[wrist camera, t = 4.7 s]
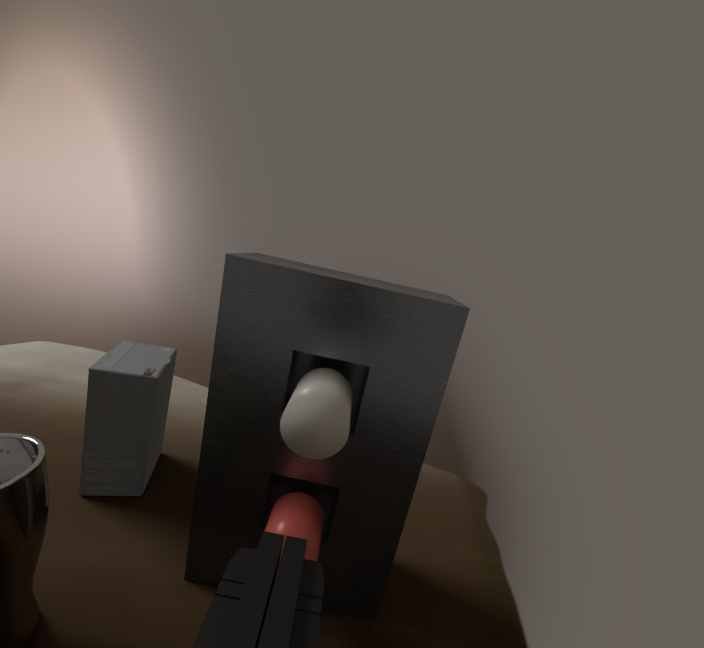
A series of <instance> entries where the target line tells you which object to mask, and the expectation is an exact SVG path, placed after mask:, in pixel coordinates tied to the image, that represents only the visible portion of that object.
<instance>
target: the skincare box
mask: <svg viewBox="0 0 704 648" xmlns="http://www.w3.org/2000/svg"><path fill="white" fill-rule="evenodd" d="M176 353H177V350H176V349H174V348H167V347H161V346H154V345H148V344H142V343H137V342H129V341H121V342H120V343H119V344H118V345H117V346H115V347H114V348H113V349H112V350H110V351H109V352H108V353H107V354H105V355H104V356H103V357H102V358H101V359H99V360H98V361H97V362H96V363H95V364H94V365H92V366H91V367H90V368H89V377H88V391H87V404H86V416H85V428H84V440H83V453H82V464H81V476H80V488H79V494H80V495H89V496H93V495H95V496H141V495H142V494H143V492H144V490H145V488H146V485H147V483H148V481H149V479H150V476H151V474H152V472H153V469H154V467H155V465H156V463H157V460H158V458H159V456H160V453H161V450H162V444H163V437H164V431H165V424H166V418H167V412H168V405H169V399H170V392H171V386H172V380H173V373H174V366H175V360H176Z"/></svg>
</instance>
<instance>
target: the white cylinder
mask: <svg viewBox="0 0 704 648" xmlns="http://www.w3.org/2000/svg"><path fill="white" fill-rule="evenodd" d="M351 406H352V389H351V386H350V383H349V382H348V380H347V379H346V378H345V377H344V376H343V375H342V374H341V373H339V372H338V371H336V370H333V369H330V368H317V369H313V370H311V371H309V372H307V373H306V374H305V375H304V376H303V377H302V378H301V379H300V381H299V382H298V384H297V386H296V388H295V390H294V392H293V394H292V396H291V398H290V400H289V402H288V404H287V406H286V408H285V410H284V412H283V414H282V417H281V421H280V432H281V436H282V438H283V440H284V442H285V444H286V445H287V446H288V447H289V448H290V449H291V450H292V451H293V452H294V453H296V454H298V455H300V456H302V457H305V458H308V459H324V458H328V457H330V456H333V455H334V454H336V453H337V452H339V451H340V450H341V449H342V448H343V446H344V445H345V444H346V442H347V439H348V436H349V429H350V417H351Z"/></svg>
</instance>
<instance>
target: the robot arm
mask: <svg viewBox="0 0 704 648" xmlns="http://www.w3.org/2000/svg"><path fill="white" fill-rule="evenodd" d="M284 537H285V535H282V534H276V533H271V532H266V531H263V533H262V535H261V538H260V541H259V544H258V547H257V550H255V549H250V548H245V547H241V548H240V550H239V551H238V552H237V553H236V554H235V555H234V556H233V557H232V558H231V559H230V560H229V562H228V565H227V567H226V569H225V572H224V574H223V576H222V579H221V582H220V583H219V586H218V588H217V591H216V593H215V596H214V598H213V600H212V602H211V605H210V607H209V610H208V612H207V614H206V617H205V619H204V621H203V624H202V626H201V628H200V631H199V633H198V636H197V638H196V640H195V643H194V645H193V647H192V648H317V646H318V637H319V628H320V618H321V617H320V616H321V609H322V598H323V590H324V580H325V578H324V575H323V571H322V568H321V564H320V562H318V561H313V560H308V559H304V558H305V552H306V547H307V541H308V539H303V538H298V537H292V536H286V539H285V543H284V547H283V542H284ZM282 547H283V551H282ZM281 552H282V555H281ZM280 557H281V558H280Z"/></svg>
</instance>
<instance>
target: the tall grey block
mask: <svg viewBox="0 0 704 648" xmlns="http://www.w3.org/2000/svg"><path fill="white" fill-rule="evenodd" d="M469 309H470V308H468V307H467V306H465V305H463V304H462V303H460V302H458V301H456V300H454V299H452V298H451V297H449V296H447V295H443V294H439V293H434V292H430V291H425V290H421V289H416V288H412V287H407V286H403V285H398V284H394V283H389V282H385V281H381V280H376V279H372V278H367V277H363V276H358V275H353V274H349V273H344V272H340V271H335V270H331V269H327V268H322V267H317V266H313V265H308V264H304V263H300V262H295V261H291V260H286V259H281V258H277V257H273V256H268V255H264V254H259V253H237V254H226V258H225V266H224V273H223V281H222V290H221V297H220V305H219V313H218V321H217V328H216V336H215V344H214V352H213V359H212V367H211V375H210V383H209V390H208V398H207V406H206V414H205V421H204V429H203V437H202V445H201V453H200V460H199V468H198V476H197V484H196V492H195V499H194V507H193V515H192V523H191V531H190V538H189V546H188V554H187V562H186V570H185V577H184V580H189V581H194V582H198V583H203V584H208V585H213V586H217V587H218V586H219V583H220V582H221V579H222V576H223V574H224V572H225V569H226V567H227V565H228V562H229V560H230V559H231V558H232V557H233V556H234V555H235V554H236V553H237V552H238V551H239V550H240V548H241V547H245V548H250V549H255V550H257V547H258V544H259V541H260V538H261V535H262V533H263V531H265V528H266V525H267V523H268V520H269V517H270V514H271V511H272V509H273V506H274V504H275V502H276V501H277V500H278V499H279V498H280V497H281V496H283V495H285V494H288V493H293V492H300V493H305V494H308V495H310V496H312V497H313V498H315V499H316V500H317V501H318V502H319V503H320V505H321V506H322V508H323V511H324V521H323V528H322V534H321V541H320V548H319V554H318V562H320V564H321V568H322V571H323V575H324V578H325V580H324V590H323V598H322V609H326V610H331V611H335V612H340V613H345V614H350V615H354V616H359V617H364V618H368V619H373V620H375V619H376V615H377V612H378V609H379V605H380V602H381V599H382V596H383V592H384V589H385V586H386V582H387V579H388V576H389V573H390V569H391V566H392V563H393V559H394V556H395V553H396V550H397V546H398V543H399V540H400V536H401V533H402V530H403V527H404V523H405V520H406V517H407V513H408V510H409V507H410V504H411V500H412V497H413V494H414V490H415V487H416V484H417V481H418V477H419V474H420V471H421V467H422V464H423V461H424V457H425V454H426V451H427V448H428V444H429V441H430V438H431V434H432V431H433V428H434V424H435V421H436V418H437V415H438V411H439V408H440V405H441V402H442V398H443V395H444V392H445V389H446V385H447V382H448V379H449V375H450V372H451V369H452V365H453V362H454V359H455V356H456V352H457V349H458V346H459V342H460V339H461V336H462V332H463V329H464V326H465V323H466V319H467V316H468V313H469ZM317 368H330V369H333V370H336V371H338V372H339V373H341V374H342V375H343V376H344V377H345V378H346V379H347V380H348V382H349V383H350V386H351V389H352V406H351V417H350V429H349V436H348V439H347V442H346V444H345V445H344V446H343V448H342V449H341V450H340V451H339V452H337V453H336V454H334V455H333V456H330V457H328V458H324V459H308V458H305V457H302V456H300V455H298V454H296V453H294V452H293V451H292V450H291V449H290V448H289V447H288V446H287V445H286V444H285V442H284V440H283V438H282V436H281V432H280V421H281V417H282V414H283V412H284V410H285V408H286V406H287V404H288V402H289V400H290V398H291V396H292V394H293V392H294V390H295V388H296V386H297V384H298V382H299V381H300V379H301V378H302V377H303V376H304V375H305V374H306V373H307V372H309V371H311V370H313V369H317Z"/></svg>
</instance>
